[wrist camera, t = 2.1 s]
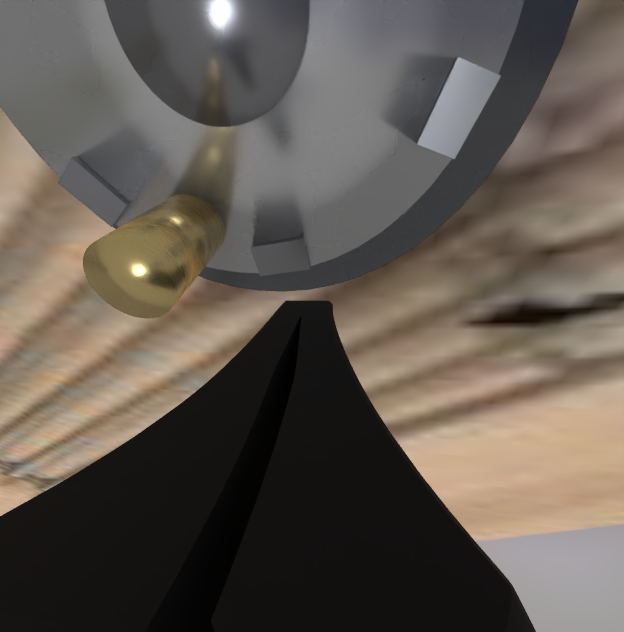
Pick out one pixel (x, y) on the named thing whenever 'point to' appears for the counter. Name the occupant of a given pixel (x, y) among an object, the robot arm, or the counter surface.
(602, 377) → the counter surface
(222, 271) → the dark grey flat disc
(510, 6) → the lugged hub disc
